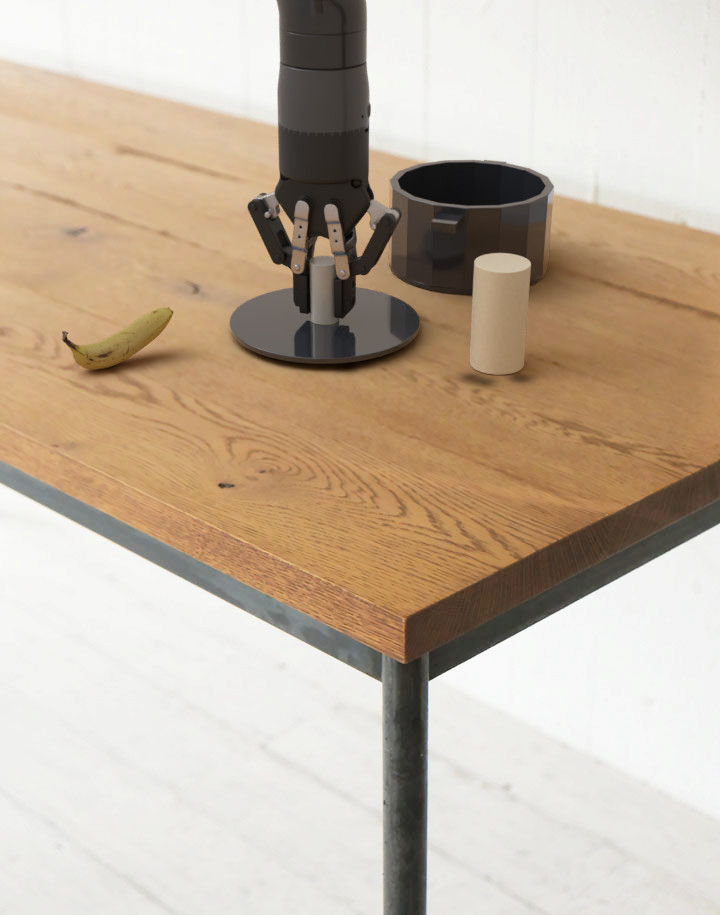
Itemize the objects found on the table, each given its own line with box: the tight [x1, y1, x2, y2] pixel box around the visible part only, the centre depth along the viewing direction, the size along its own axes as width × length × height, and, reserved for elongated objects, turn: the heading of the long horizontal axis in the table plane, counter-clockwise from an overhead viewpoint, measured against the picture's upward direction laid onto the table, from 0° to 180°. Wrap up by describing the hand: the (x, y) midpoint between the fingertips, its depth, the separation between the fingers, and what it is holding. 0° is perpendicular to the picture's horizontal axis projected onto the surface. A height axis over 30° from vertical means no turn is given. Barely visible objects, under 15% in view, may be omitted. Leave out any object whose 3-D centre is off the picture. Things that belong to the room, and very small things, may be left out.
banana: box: [61, 307, 174, 371], centre depth 113 cm, size 10×2×4 cm, turn 126°
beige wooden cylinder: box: [469, 253, 531, 376], centre depth 112 cm, size 5×5×9 cm
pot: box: [387, 159, 555, 296], centre depth 132 cm, size 16×21×8 cm
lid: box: [228, 255, 421, 365], centre depth 118 cm, size 17×17×7 cm
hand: (324, 312), depth 119 cm, fingers closed on lid, 2 cm apart
